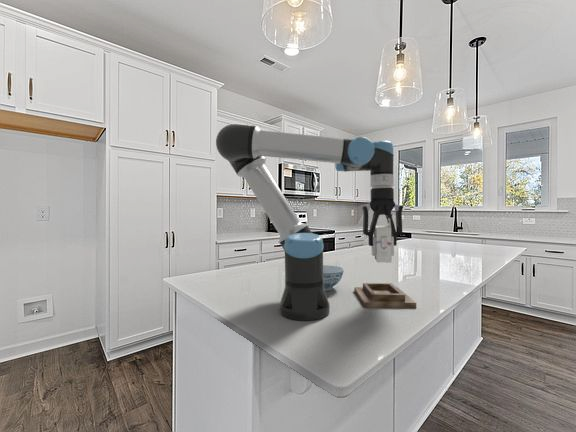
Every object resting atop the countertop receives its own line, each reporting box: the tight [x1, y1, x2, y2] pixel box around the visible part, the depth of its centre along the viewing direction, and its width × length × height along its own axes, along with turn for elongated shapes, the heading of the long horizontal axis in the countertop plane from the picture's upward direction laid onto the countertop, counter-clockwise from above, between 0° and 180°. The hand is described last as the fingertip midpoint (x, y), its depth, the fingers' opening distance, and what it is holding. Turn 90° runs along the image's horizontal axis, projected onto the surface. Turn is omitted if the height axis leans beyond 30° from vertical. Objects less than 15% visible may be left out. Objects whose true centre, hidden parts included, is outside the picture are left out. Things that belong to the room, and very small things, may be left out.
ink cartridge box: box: [373, 218, 393, 264], centre depth 99 cm, size 9×5×15 cm, turn 169°
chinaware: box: [323, 264, 345, 292], centre depth 114 cm, size 15×15×8 cm
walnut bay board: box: [353, 282, 417, 309], centre depth 100 cm, size 16×18×4 cm
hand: (382, 255), depth 99 cm, fingers closed on ink cartridge box, 5 cm apart
